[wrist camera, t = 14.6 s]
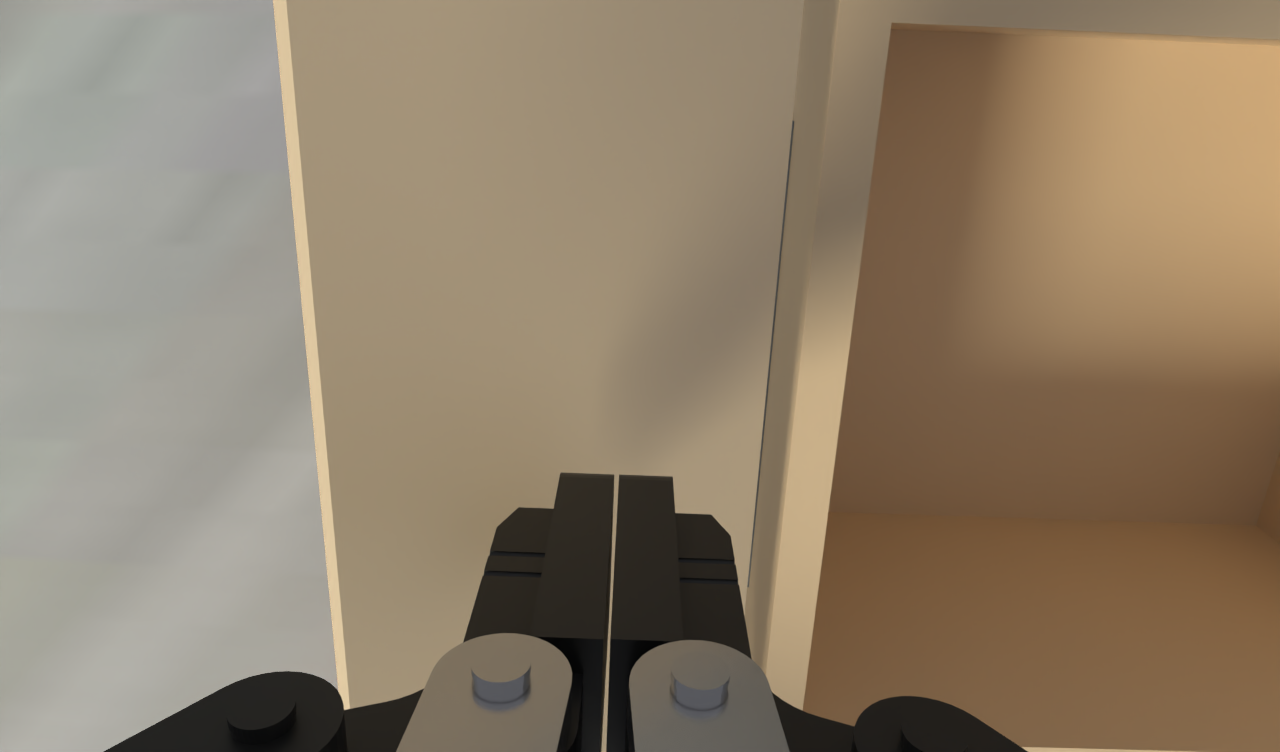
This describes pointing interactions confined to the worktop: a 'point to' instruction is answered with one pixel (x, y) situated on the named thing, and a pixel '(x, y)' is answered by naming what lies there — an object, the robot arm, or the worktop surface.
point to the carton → (1029, 372)
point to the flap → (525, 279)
